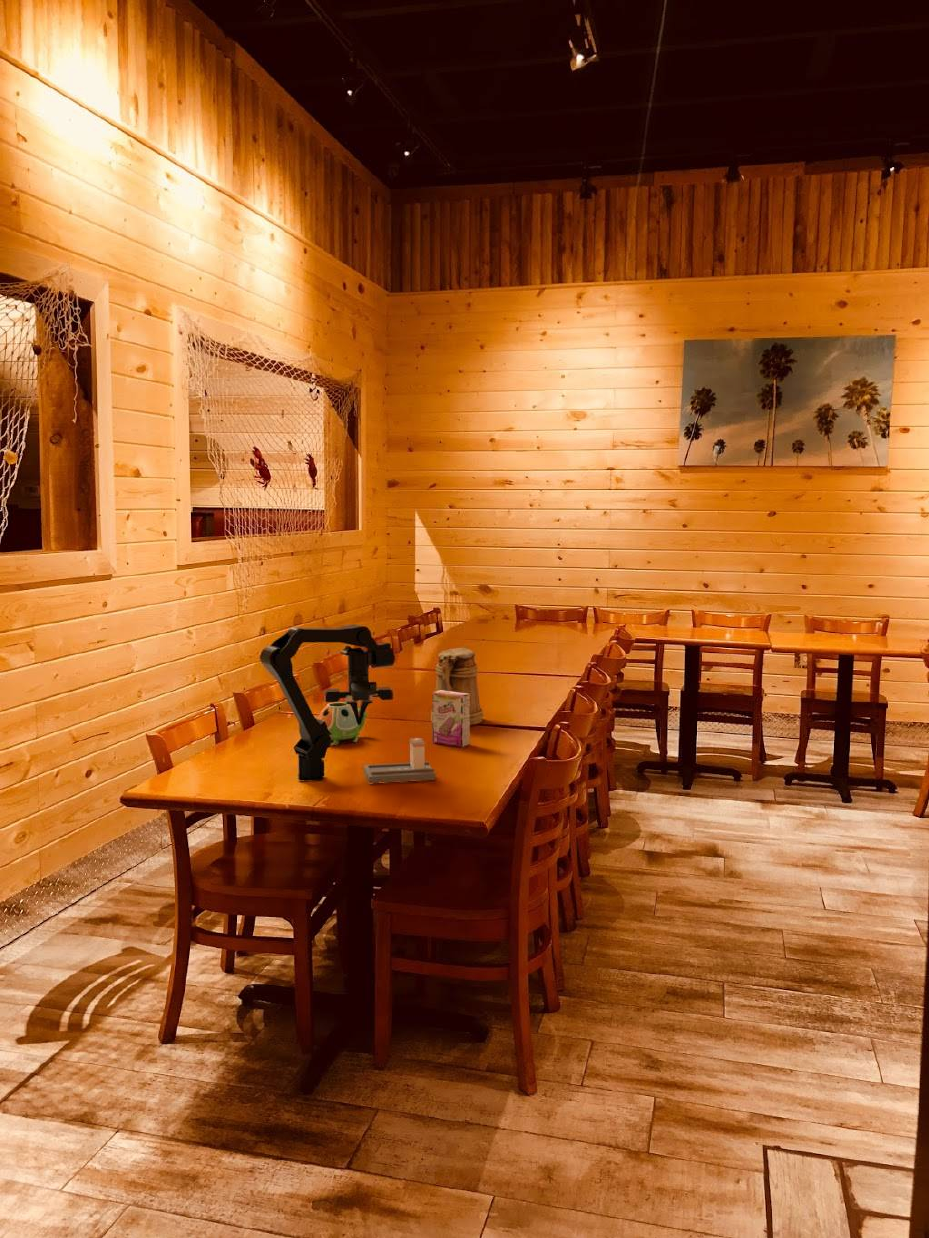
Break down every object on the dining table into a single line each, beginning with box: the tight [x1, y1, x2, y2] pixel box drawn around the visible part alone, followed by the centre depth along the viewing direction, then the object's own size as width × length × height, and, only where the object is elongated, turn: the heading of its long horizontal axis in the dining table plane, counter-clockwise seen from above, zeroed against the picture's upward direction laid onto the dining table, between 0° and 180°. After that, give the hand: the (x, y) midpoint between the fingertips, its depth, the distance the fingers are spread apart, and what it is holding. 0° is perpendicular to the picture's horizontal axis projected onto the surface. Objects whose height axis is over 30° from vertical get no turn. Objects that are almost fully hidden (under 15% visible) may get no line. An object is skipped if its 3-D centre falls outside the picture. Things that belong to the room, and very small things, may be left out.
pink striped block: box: [409, 737, 426, 770], centre depth 270 cm, size 3×6×8 cm, turn 12°
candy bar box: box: [432, 690, 471, 748], centre depth 305 cm, size 11×5×16 cm, turn 59°
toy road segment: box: [363, 761, 436, 783], centre depth 269 cm, size 18×12×3 cm, turn 102°
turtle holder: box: [317, 701, 368, 747], centre depth 310 cm, size 12×18×12 cm
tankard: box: [430, 647, 484, 727], centre depth 334 cm, size 18×24×25 cm
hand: (359, 724), depth 275 cm, fingers closed
